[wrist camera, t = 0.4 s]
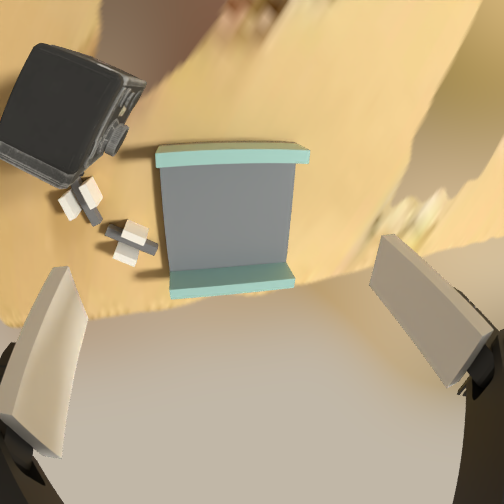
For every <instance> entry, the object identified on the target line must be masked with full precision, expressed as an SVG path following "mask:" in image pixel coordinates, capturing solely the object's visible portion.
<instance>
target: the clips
mask: <svg viewBox="0 0 504 504" xmlns="http://www.w3.org/2000/svg"><path fill="white" fill-rule="evenodd" d="M79 190H80V192H81V194H82V195H83V197H84V199H85V201H86V203H87V205H88V207H89V208H90V210H91V209H93V208H95V207H97V206H98V204H99V203H100V201H101V200H102V198H103V196H102V194H101V192H100V190H99V188H98V186H97V184H96V182H95V180H94V178H93V176H92V177H90V178H89V179H87V180H85V181H84V182H83V184H82V185H81V186H80V187H79ZM58 201H59V203H60V205H61V206H62V208H63V210H64V212H65V214H66V215H67V217H68V219H69V221H71V220H73V219H75V218H76V217H77V216H78V214H79V213H80V212H81V210H82V209H83V208H82V206H81V205H80V203H79V201H78V199H77V197H76V195H75V193H74V192H73V190H72V188H71V189H70V190H68V191H66V192H65V193H64V194H63V195H62V196H61V197H60V198H59V199H58ZM148 230H149V228H147V227H145V226H142V225H140V224H138V223H135V222H133V221H131V220H128V219H127V222H126V224H125V227H124V229H123V232H122V235H121V237H123V238H125V239H127V240H130V241H132V242H134V243H137V244H139V245H142V246H144V244H145V242H146V239H147V234H148ZM138 254H139V249H136V248H134V247H131V246H129V245H127V244H124V243H122V242H118V244H117V247H116V250H115V253H114V256H113V259H116V260H118V261H121V262H123V263H126V264H128V265H131V266H133V267H135V264H136V262H137V259H138Z"/></svg>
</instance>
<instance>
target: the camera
mask: <svg viewBox="0 0 504 504" xmlns="http://www.w3.org/2000/svg"><path fill="white" fill-rule="evenodd" d="M146 84H147V82H146V81H144V80H141V79H139V78H137V77H135V76H133V75H131V74H129V73H127V72H124V71H122V70H120V69H118V68H116V67H113V66H111V65H109V64H107V63H104V62H102V61H100V60H98V59H95V58H93V57H91V56H88V55H85V54H82V53H79V52H76V51H72V50H69V49H66V48H62V47H59V46H55V45H48V44H44V43H39V44H37V45H36V46H34V47H33V49H32V51H31V53H30V55H29V56H28V58H27V60H26V62H25V64H24V66H23V68H22V70H21V72H20V75H19V77H18V79H17V81H16V83H15V85H14V88H13V90H12V92H11V95H10V97H9V100H8V102H7V105H6V107H5V110H4V112H3V115H2V118H1V121H0V159H1V160H3V161H5V162H7V163H9V164H11V165H13V166H15V167H17V168H19V169H21V170H23V171H25V172H27V173H29V174H31V175H33V176H35V177H37V178H39V179H40V180H42V181H44V182H46V183H48V184H50V185H52V186H54V187H56V188H59V189H66V188H68V187H69V186H70V185H72V184H73V183H74V182H75V181H76V180H77V179H78V178H79V177H81V176H83V174H84V171H85V170H86V169H87V168H88V167H89V166H90V165H91V164H93V163H94V162H95V161H96V160H97V159H99V158H100V157H101V156H102V155H103V153H104V151H105V153H107V154H109V155H111V156H114V155H115V154H116V153H117V151H118V150H119V148H120V146H121V145H122V143H123V141H124V139H125V137H126V135H127V132H128V130H129V127H128V126H127V125H124V124H125V122H126V120H127V118H128V116H129V115H130V113H131V111H132V109H133V108H134V106H135V105H136V103H137V102H138V100H139V98H140V96H141V94H142V92H143V90H144V89H145V87H146Z"/></svg>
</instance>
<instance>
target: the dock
mask: <svg viewBox="0 0 504 504" xmlns="http://www.w3.org/2000/svg"><path fill="white" fill-rule="evenodd" d="M309 157H310V150H308V149H307V148H305V147H303V146H301V145H299V144H297V143H295V142H268V141H232V142H200V143H181V144H167V145H159V147H158V149H157V151H156V153H155V159H156V168H160V179H161V192H162V205H163V216H164V226H165V235H166V244H167V253H168V261H169V268H170V287H169V290H170V297H171V299H183V298H195V297H207V296H218V295H229V294H239V293H249V292H259V291H268V290H277V289H286V288H294V283H295V277H294V275H293V274H292V272H291V270H290V268H289V267H288V265H287V263H286V257H287V248H288V239H289V229H290V219H291V209H292V199H293V188H294V177H295V165H296V163H302V164H309Z"/></svg>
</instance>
